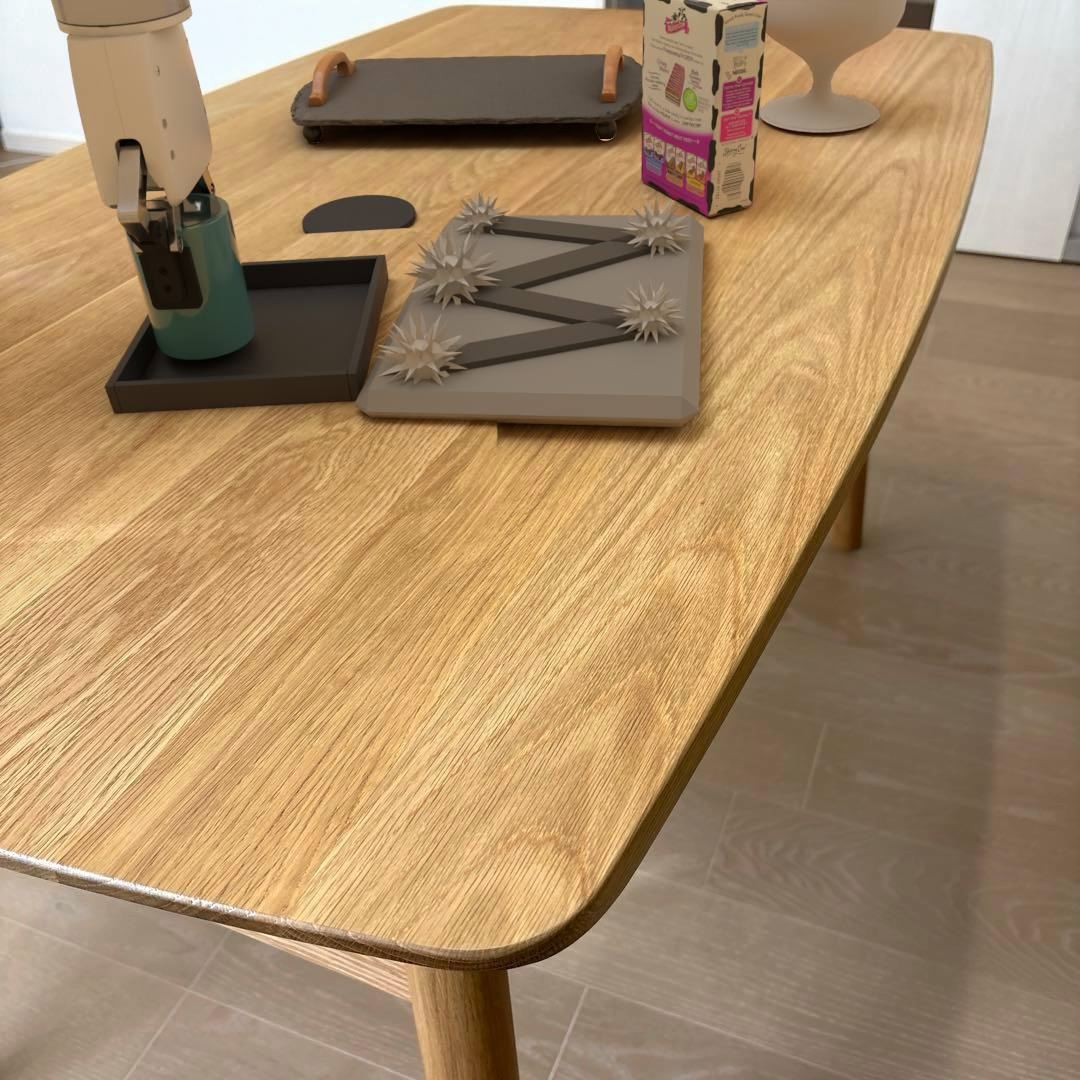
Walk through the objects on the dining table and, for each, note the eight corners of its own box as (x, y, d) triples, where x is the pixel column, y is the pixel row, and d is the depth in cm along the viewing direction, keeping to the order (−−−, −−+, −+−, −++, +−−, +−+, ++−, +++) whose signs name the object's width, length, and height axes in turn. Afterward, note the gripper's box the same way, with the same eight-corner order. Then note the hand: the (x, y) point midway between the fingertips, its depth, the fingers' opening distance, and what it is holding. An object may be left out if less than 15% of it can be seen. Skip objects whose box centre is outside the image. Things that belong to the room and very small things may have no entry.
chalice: (917, 123, 107) (945, -45, 97) (797, 149, 103) (814, -24, 94) (836, 88, 117) (854, -67, 108) (724, 110, 113) (733, -49, 104)
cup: (145, 362, 73) (107, 234, 67) (171, 315, 78) (138, 193, 72) (245, 358, 72) (215, 230, 67) (264, 312, 78) (238, 190, 72)
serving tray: (655, 79, 123) (656, 21, 119) (643, 147, 106) (643, 82, 102) (333, 84, 129) (324, 28, 125) (270, 150, 111) (257, 88, 107)
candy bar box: (756, 207, 92) (772, -1, 82) (708, 220, 91) (718, 10, 81) (683, 169, 100) (689, -24, 90) (638, 181, 99) (639, -15, 88)
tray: (117, 423, 70) (104, 386, 68) (185, 299, 84) (176, 265, 82) (362, 410, 70) (356, 373, 68) (390, 287, 84) (385, 254, 82)
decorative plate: (697, 441, 65) (702, 335, 60) (354, 432, 68) (335, 331, 63) (703, 238, 88) (707, 151, 83) (447, 238, 91) (438, 154, 86)
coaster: (294, 247, 91) (293, 242, 91) (312, 203, 99) (311, 197, 98) (411, 241, 91) (410, 235, 90) (420, 197, 98) (419, 191, 98)
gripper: (101, -36, 68) (171, 232, 79) (-4, 35, 55) (98, 345, 66) (218, -40, 68) (272, 228, 79) (142, 29, 55) (220, 341, 66)
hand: (192, 279), depth 72 cm, fingers closed on cup, 6 cm apart
